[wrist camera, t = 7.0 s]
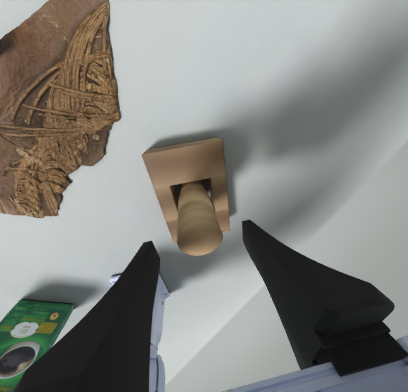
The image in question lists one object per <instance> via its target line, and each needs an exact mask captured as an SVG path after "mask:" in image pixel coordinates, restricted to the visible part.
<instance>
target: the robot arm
mask: <svg viewBox="0 0 408 392" xmlns="http://www.w3.org/2000/svg"><path fill="white" fill-rule="evenodd" d="M242 229H243V242H244V244H245V246H246V249H247V251H248V253H249V255H250V257H251V259H252V260H253V262H254V264H255V266H256V268H257V269H258V271H259V273H260V275H261V277H262V278H263V280H264V282H265V284H266V286H267V289H268V291H269V293H270V296H271V298H272V300H273V302H274V305H275V307H276V309H277V312H278V314H279V317H280V319H281V321H282V324H283V326H284V329H285V331H286V334H287V336H288V339H289V341H290V344H291V346H292V349H293V352H294V354H295V357H296V359H297V362H298V364H299V367H300V369H301V370H300V371H296V372H292V373H289V374H285V375H281V376H278V377H274V378H270V379H267V380H263V381H259V382H256V383H252V384H248V385H245V386H241V387H238V388H234V389H230V390H227V391H223V392H408V336H404V337H402V338H399V339H397V340H395V339H394V338H393V337H392V336H391V335H390V334H389V332H390V329H389V328H388V327H387V326H386V325H385V324H384V323H383V322H382V321H383V320H384V319H385V318H386V317H387V316H388V315H389V314H390V313H391V312H392V311H393V310H394V303H393V302H392V301H391V300H390V299H388V298H387V297H386V296H385V295H384V294H383V293H381V292H380V291H379V290H378V289H377V288H376V287H375V286H373V285H372V284H371V283H368V282H365V281H363V280H360V279H358V278H355V277H352V276H349V275H347V274H344V273H341V272H339V271H337V270H334V269H331V268H329V267H327V266H324V265H323V264H320V263H317V262H316V261H314V260H312V259H310V258H308V257H306V256H304V255H302V254H300V253H298V252H296V251H295V250H293V249H291V248H289V247H288V246H286V245H284V244H283V243H281V242H280V241H278V240H277V239H275V238H274V237H272V236H271V235H269V234H268V233H267V232H265V231H264V230H263V229H261V228H260V227H259V226H257V225H256V224H255V223H253V222H252V221H251V220H246V221H242ZM159 268H160V257H159V255H158V253H157V251H156V249H155V247H154V244H153V242H152V241H149V242H144V243H143V245H142V246H141V247H140V249H139V250H138V252H137V253H136V255H135V256H134V258H133V259H132V261H131V262H130V263H129V265H128V266H127V268H126V269H125V270H124V272H123V273H122V274H121V275H118V276H113V277H111V278H110V280H109V281H110V282H111V283H112V284H113V286H112V287H111V288H110V289H109V291H108V292H107V293H106V294H105V295H104V296H103V297H102V299H101V300H100V301H99V302H98V303H97V304H96V305H95V306H94V307H93V308H92V309H91V310H90V311H89V312H88V313H87V314H86V316H85V317H84V318H83V319H82V320H81V321H80V322H79V323H78V324H76V325H75V326H74V327H73V328H72V329H71V330H70V331H69V332H68V333H67V334H66V335H65V336H64V337H63V338H62V339H61V340H59V341H58V342H57V343H56V344H55V345H54V346H53V347H52V348H51V349H49V350H48V351H47V352H46V353H45V354H44V355H43V356H41V357H40V358H39V359H38V360H37V361H36V362H35V363H33V364H32V365H31V366H30V367H29V368H27V369H26V371H25V372H24V374H23V375H22V377H21V379H20V380H19V382H18V384H17V385H16V387H15V388H14V390H13V392H164V391H165V367H164V363H163V361H162V358H161V356H160V355H157V350H158V344H159V342H160V339H161V335H162V325H163V314H164V303H165V298H169V297H170V294H169V292H168V290H167V288H166V286H165V284H164V282H163V280H162V278H161V276H160V274H159Z"/></svg>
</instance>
